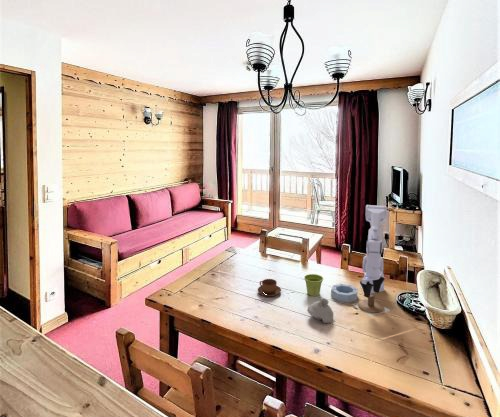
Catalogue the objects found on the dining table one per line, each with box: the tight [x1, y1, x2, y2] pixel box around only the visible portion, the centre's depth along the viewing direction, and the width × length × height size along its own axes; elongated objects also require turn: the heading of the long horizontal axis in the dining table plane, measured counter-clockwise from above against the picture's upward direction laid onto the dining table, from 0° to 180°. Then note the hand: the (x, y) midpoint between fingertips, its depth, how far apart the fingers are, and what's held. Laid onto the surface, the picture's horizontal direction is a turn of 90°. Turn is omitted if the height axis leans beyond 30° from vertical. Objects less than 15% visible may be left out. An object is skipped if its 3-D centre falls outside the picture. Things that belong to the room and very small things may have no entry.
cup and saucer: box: [257, 278, 282, 297], centre depth 163 cm, size 12×12×6 cm
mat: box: [351, 301, 392, 317], centre depth 146 cm, size 12×12×1 cm
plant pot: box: [303, 273, 324, 297], centre depth 161 cm, size 9×9×9 cm
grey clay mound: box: [306, 298, 334, 324], centre depth 138 cm, size 12×12×11 cm
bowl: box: [330, 283, 358, 303], centre depth 157 cm, size 12×12×4 cm
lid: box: [357, 294, 385, 314], centre depth 146 cm, size 11×11×6 cm
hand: (371, 294), depth 145 cm, fingers open, 7 cm apart
